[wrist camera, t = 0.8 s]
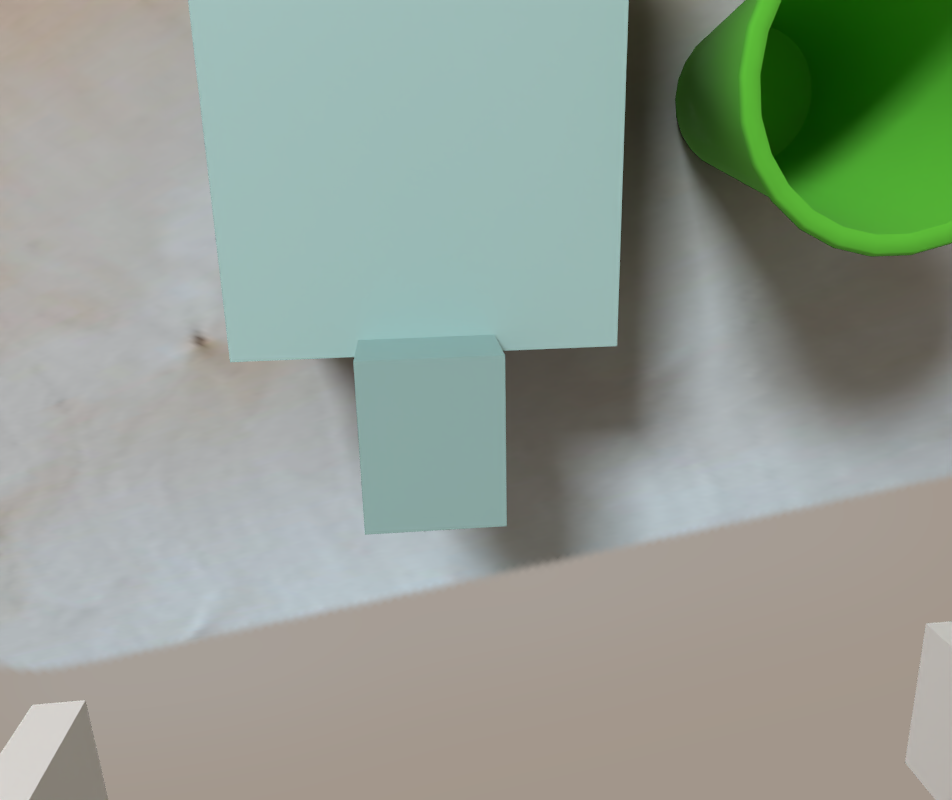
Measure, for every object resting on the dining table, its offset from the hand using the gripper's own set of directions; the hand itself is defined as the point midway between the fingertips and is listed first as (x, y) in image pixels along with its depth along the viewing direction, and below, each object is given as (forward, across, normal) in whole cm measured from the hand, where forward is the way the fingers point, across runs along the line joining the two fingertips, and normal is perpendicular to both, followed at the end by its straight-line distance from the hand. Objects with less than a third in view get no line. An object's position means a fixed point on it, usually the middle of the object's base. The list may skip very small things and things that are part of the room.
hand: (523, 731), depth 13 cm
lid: (+15, -1, +9) cm, 17 cm away
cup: (+21, +12, +10) cm, 26 cm away
